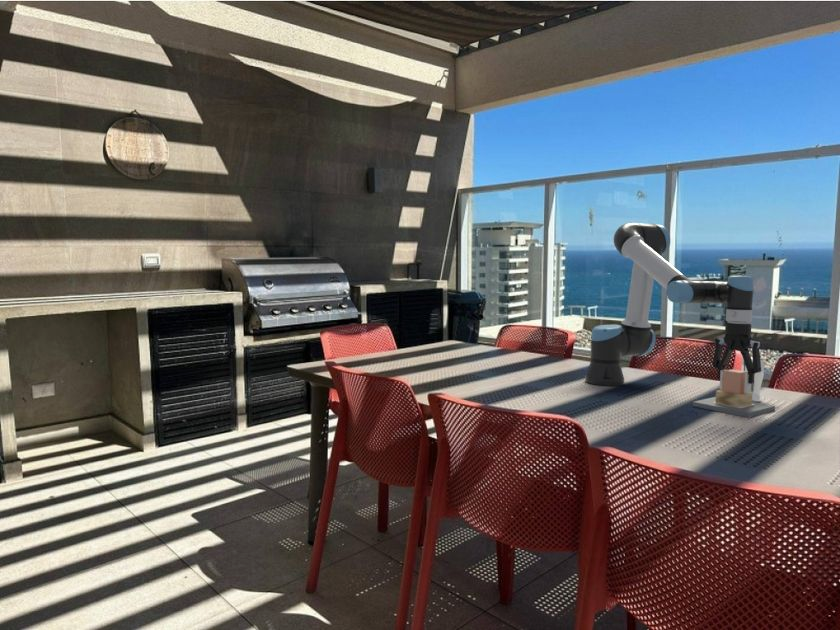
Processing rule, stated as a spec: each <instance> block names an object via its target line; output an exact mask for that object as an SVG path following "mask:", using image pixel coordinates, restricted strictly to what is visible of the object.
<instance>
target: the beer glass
mask: <svg viewBox="0 0 840 630" xmlns="http://www.w3.org/2000/svg"><path fill="white" fill-rule="evenodd" d="M750 357H751V356H750ZM751 360H752V363H753V356H752V357H751ZM760 361H761V372H758V373H755V375H754V383H753V384H751V392H752V402H756V403H761V401H762V399H761V388H762V384H763V379H764V375H765V359H764V358H762V357H760ZM740 369H741V370H740V371H747V368H746V365H745V362H744V359H743V358H742V362H741V368H740ZM747 373H748V371H747Z"/></svg>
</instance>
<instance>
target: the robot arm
mask: <svg viewBox="0 0 840 630" xmlns="http://www.w3.org/2000/svg"><path fill="white" fill-rule="evenodd" d="M613 244H614V247H615V249H616V250H617V252H618V253H619V254H620V255H621V256H623V257H624V258H626V259H630V260H631V261H633V264H632V271H631V278H630V286H629V292H628V300H627V307H626V314H625V318H624V319H623V320H622V321H621V322H620V324H614V323H613V324H600V325H596V326H594V327H593V328H592V330H591V337H590V340H591V341H590V361H589V362H590V363H589V366H588V368H587V371H586V374H585V378H584V380H585V383H588V384H590V385H591V384H592V385H596V386H604V387H605V386H607V387H615V386H616V387H618V386H623V385H625V377H624V374H623V373H624V372H623V370H622V365H621V363H622V362H621V360H622V359H621V357H641V356H646V355H648V354H649V353H651V352H652V350H654V347H655V344H656V339H657V338H656V334H655V331H654V330H653V329H652V325H651V323H650V322H649V317H650V316H649V315H650V310H651V301H652V294H653V290H654V289H653V288H654V281H656V282H657V283H658V284H659V285H660V286H662V287H663V288H664V289H665V294H666V296H667V299H668V300H669V301H670V302H671V303H673V304H674V303H675V304H680V305H683V304H684V305H685V304H724V305H726V307H725V308H726V311H725V321H726V323H725V324H724V325H725V326H724V327H725V328H724V333H725V335H724V337H722V338H721V337H719V338H715V339H714V341H715V342H714V343H715V348H714V353H713V358H712V365H711V366H712V367H713V368H716V369H717V379H718V380H719V390H723V389H724V372H725V370H726V366H727V364H728V361H729V360H730V358H731V356H732V354H733V352H734V351H737V352H740V354H741V356H742V360H743V359H744V362H745V365H746V368H747V371H748V373H746V374H745V389H744V393H745V394H748V393H751V384H753V383H754V375H755V373H758V372H761V361H760V358H761V354H760V353H761V349H760V348H761V345H762V343H761V342H760V341H755V340H752V337H751V335H752V324H751V323H752V322H753V300H754V299H753V298H754V291H755V288H754V278H753V277H752V276H750V275H729V276H728V277H727V280H726V281H715V280H714V281H713V280H706V281H705V280H704V281H703V280H702V281H700V280H691V279H689V278H688V277H687V276H686V275H684V274H683V273H682V272H680V270H678V269H677V268H676V267H674V266H673V265H672V264H671V263H670V262H668V260H666V259H665V258H663V256H662V255H663V254H664V253H666V252H668V251H667V250H669V248H670V245H671V236H670V232H669V230H668V229H667V228H666V227H665V226H663V225H662V224H656V223H645V222H644V223H643V222H642V223H641V222H626V223H625V224H623V225H621V226H619V227H618V229H616V231H615V233H614V235H613ZM724 344H726V347H725V348H724V352H723V347H724ZM749 346H750V347H751V348H752V349H751V353H752V357H753V363H752V360H751V354H750V350H749Z"/></svg>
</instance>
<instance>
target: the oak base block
mask: <svg viewBox="0 0 840 630" xmlns="http://www.w3.org/2000/svg"><path fill="white" fill-rule="evenodd" d="M715 397H716V400H715V403H720V404H725V405H730V406H735V407H744V406H748V405H752V392H751V393H748V394H745V393H742V394H735V393H730V392H724V391H723V390H721V389H718V390H716V391H715Z"/></svg>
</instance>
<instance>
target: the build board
mask: <svg viewBox="0 0 840 630" xmlns="http://www.w3.org/2000/svg"><path fill="white" fill-rule="evenodd" d="M715 400H716V396H714V397H709V398H704V399H698V400H695V401H692V407H695V408H699V409H700V408H701V409H704V410H710V411H714V412H720V413H724V414H729V415H734V416H739V417H744V418H748V419H749V418H752V417H756V416H759V415H762V414H766V413H767V414H768V413H771V412H773V411H776V410H775V409H776V407H775V406H776V405H771V404H766V403H761V402H752V405H748V406H744V407H735V406H730V405H725V404H720V403H715Z"/></svg>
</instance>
